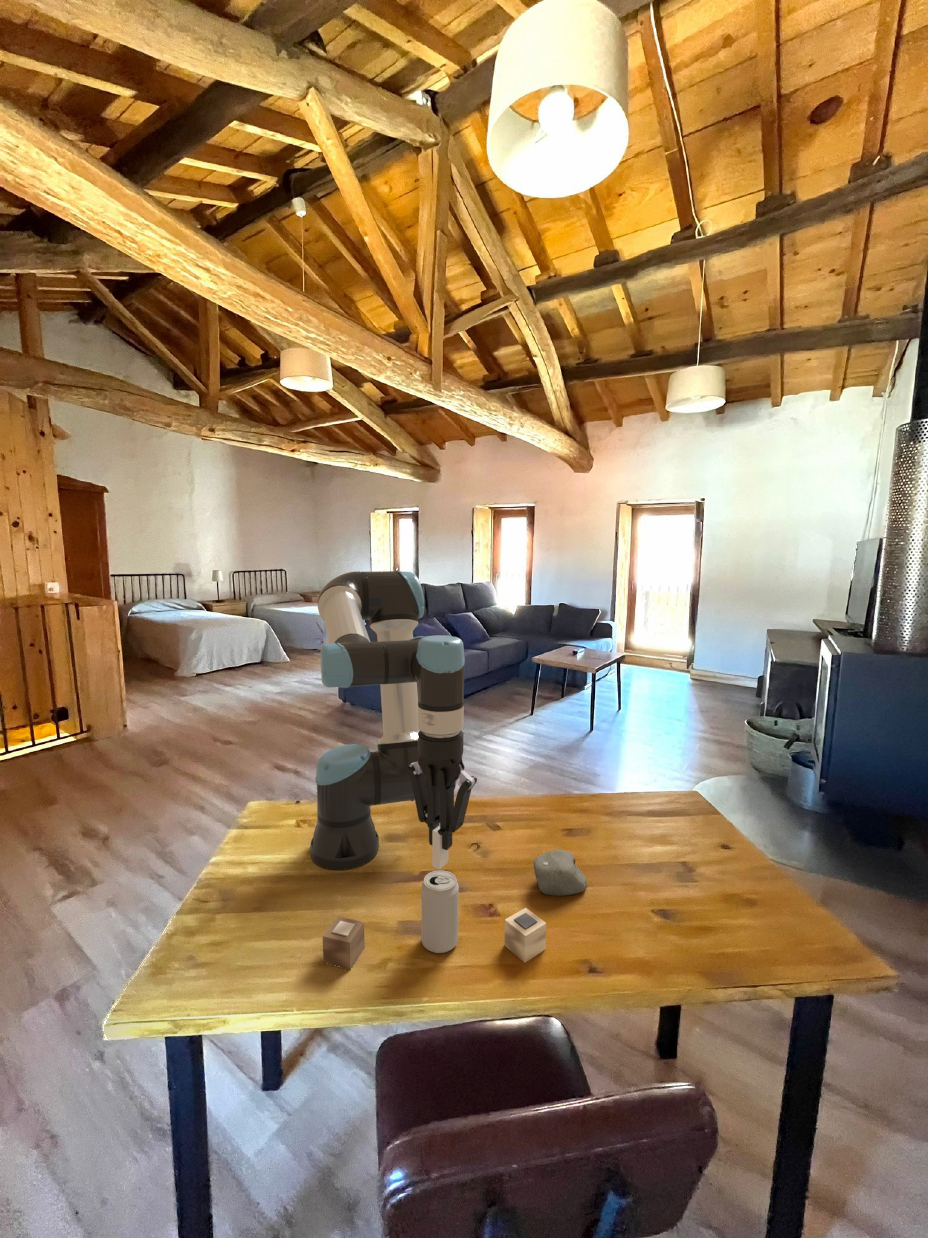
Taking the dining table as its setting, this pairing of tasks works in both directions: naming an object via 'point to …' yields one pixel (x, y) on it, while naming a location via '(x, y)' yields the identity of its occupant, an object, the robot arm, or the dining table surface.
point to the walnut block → (343, 942)
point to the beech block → (525, 934)
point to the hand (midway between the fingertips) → (440, 864)
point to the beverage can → (440, 911)
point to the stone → (559, 874)
